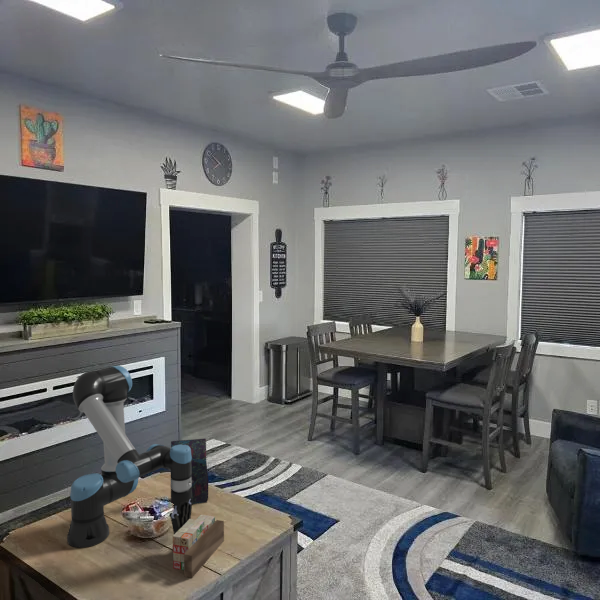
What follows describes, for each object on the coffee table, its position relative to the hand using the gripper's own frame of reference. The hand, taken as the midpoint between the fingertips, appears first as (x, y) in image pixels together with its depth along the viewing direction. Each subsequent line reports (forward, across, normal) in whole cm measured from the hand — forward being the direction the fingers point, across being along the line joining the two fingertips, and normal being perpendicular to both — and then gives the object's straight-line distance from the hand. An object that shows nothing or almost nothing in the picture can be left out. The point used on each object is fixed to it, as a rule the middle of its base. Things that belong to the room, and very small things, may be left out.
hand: (182, 549), depth 189 cm
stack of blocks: (+2, +2, -5) cm, 5 cm away
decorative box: (+2, +36, +18) cm, 41 cm away
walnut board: (+1, 0, -10) cm, 10 cm away
